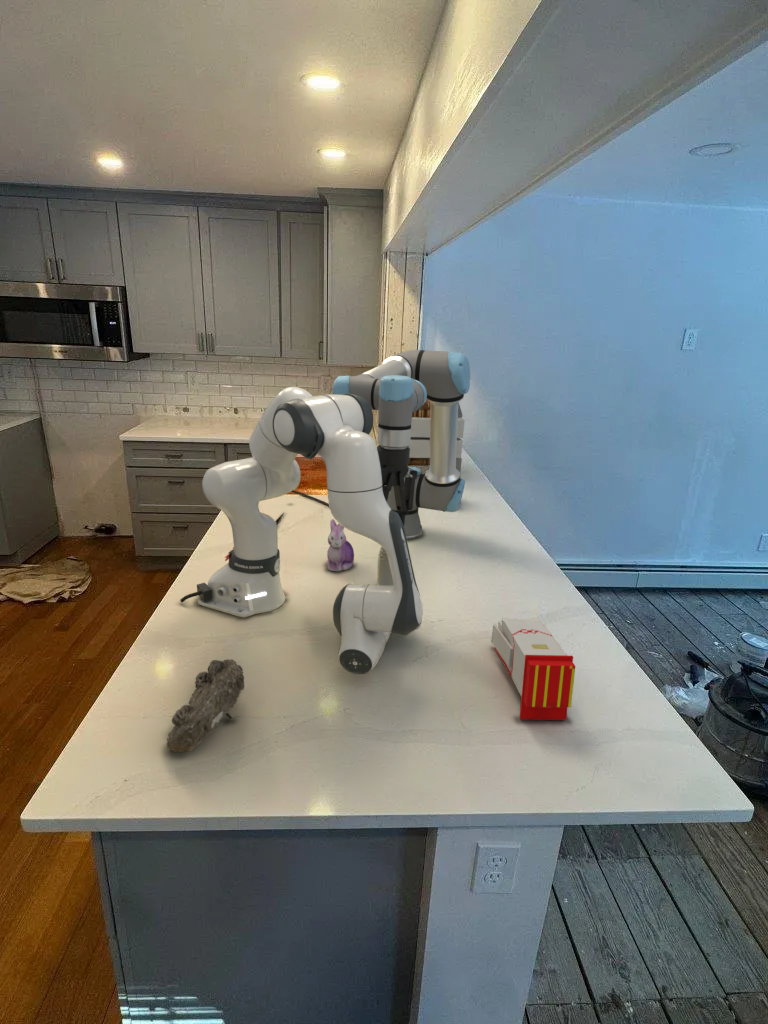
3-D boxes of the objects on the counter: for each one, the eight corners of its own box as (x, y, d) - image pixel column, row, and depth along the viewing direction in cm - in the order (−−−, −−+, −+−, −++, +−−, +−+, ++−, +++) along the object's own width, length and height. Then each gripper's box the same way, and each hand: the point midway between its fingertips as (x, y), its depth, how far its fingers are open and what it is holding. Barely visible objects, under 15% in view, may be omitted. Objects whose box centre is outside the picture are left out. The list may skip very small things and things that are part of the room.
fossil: (192, 660, 117) (244, 628, 112) (224, 691, 120) (276, 661, 115) (142, 746, 98) (202, 712, 93) (182, 779, 101) (242, 748, 96)
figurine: (332, 575, 167) (332, 527, 162) (319, 561, 175) (319, 516, 170) (361, 569, 171) (362, 523, 166) (347, 556, 179) (348, 512, 174)
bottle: (391, 614, 147) (396, 530, 139) (396, 624, 143) (401, 538, 135) (373, 616, 146) (377, 531, 138) (377, 626, 141) (381, 539, 133)
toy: (537, 603, 136) (584, 662, 106) (532, 655, 138) (577, 726, 109) (487, 602, 135) (520, 661, 106) (483, 654, 138) (514, 725, 109)
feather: (291, 507, 225) (293, 503, 224) (273, 530, 198) (276, 526, 198) (287, 504, 224) (289, 500, 224) (269, 528, 198) (272, 523, 197)
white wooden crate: (382, 463, 289) (386, 382, 275) (445, 464, 293) (451, 384, 279) (390, 482, 257) (394, 392, 243) (460, 483, 261) (468, 394, 247)
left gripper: (419, 619, 127) (428, 591, 140) (331, 605, 131) (348, 579, 144) (417, 643, 129) (426, 613, 142) (331, 629, 133) (348, 601, 146)
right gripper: (413, 439, 136) (407, 529, 144) (352, 446, 127) (350, 542, 135) (433, 445, 131) (426, 539, 139) (371, 453, 121) (367, 553, 129)
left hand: (386, 596), depth 143 cm, fingers closed on bottle, 5 cm apart
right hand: (388, 540), depth 137 cm, fingers closed on cap, 4 cm apart
